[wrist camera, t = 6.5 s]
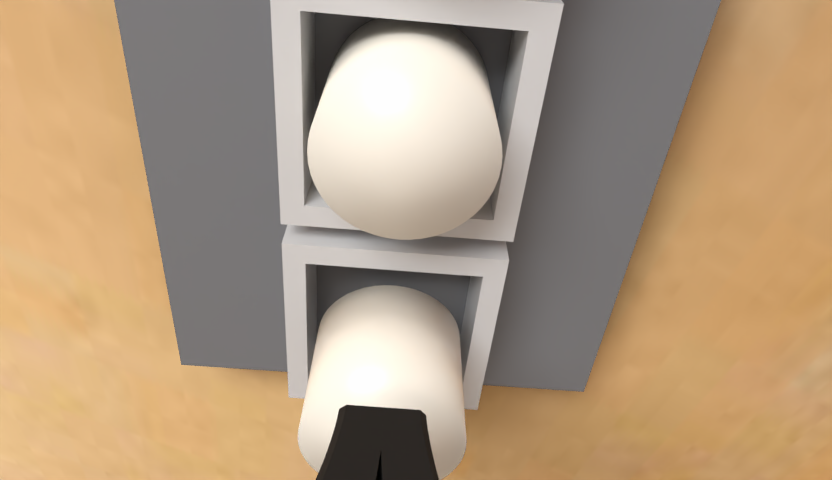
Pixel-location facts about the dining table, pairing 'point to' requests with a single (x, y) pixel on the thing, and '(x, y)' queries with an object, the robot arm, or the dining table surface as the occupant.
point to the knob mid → (405, 130)
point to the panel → (419, 258)
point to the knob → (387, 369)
